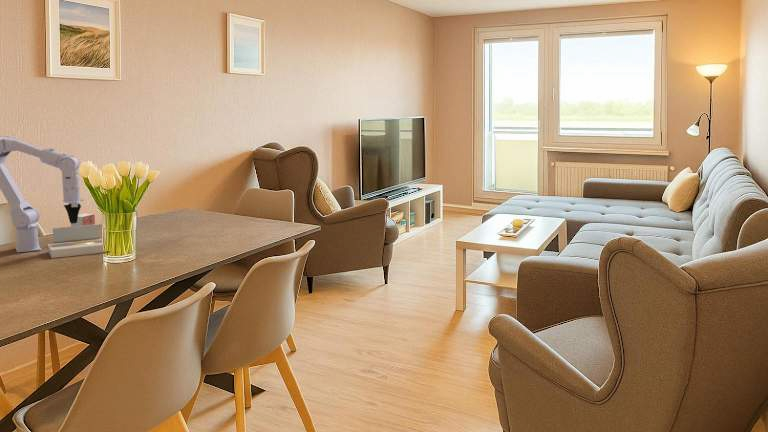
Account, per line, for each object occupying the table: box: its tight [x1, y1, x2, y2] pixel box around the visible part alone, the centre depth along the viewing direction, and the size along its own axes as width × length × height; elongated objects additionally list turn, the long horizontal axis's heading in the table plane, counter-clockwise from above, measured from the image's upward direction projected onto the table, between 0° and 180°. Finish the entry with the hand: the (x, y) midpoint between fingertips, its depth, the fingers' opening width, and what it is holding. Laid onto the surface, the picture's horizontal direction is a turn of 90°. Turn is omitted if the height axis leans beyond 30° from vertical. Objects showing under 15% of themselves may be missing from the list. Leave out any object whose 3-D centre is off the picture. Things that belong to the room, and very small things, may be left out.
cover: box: [52, 224, 101, 244], centre depth 245 cm, size 17×6×1 cm
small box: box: [70, 213, 96, 242], centre depth 262 cm, size 8×6×10 cm
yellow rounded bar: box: [68, 242, 95, 246], centre depth 243 cm, size 9×3×3 cm
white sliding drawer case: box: [47, 238, 104, 259], centre depth 242 cm, size 20×11×3 cm, turn 123°
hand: (73, 223), depth 245 cm, fingers closed
